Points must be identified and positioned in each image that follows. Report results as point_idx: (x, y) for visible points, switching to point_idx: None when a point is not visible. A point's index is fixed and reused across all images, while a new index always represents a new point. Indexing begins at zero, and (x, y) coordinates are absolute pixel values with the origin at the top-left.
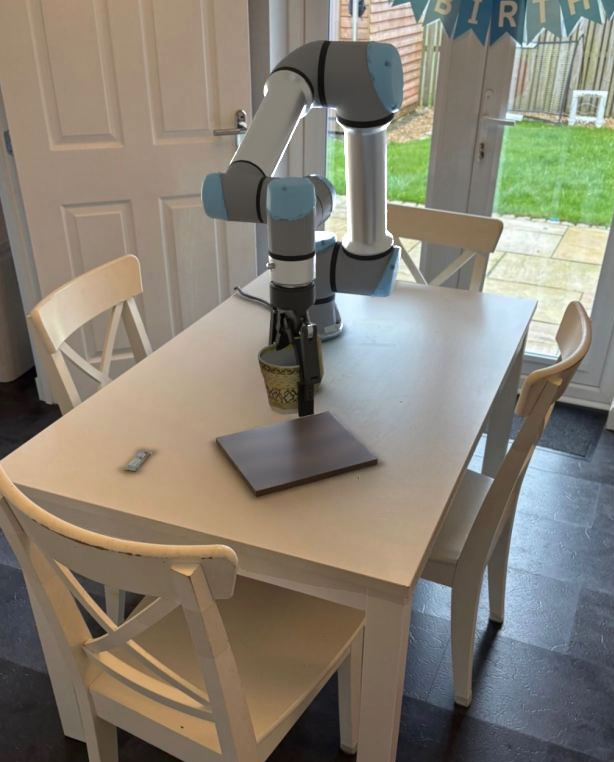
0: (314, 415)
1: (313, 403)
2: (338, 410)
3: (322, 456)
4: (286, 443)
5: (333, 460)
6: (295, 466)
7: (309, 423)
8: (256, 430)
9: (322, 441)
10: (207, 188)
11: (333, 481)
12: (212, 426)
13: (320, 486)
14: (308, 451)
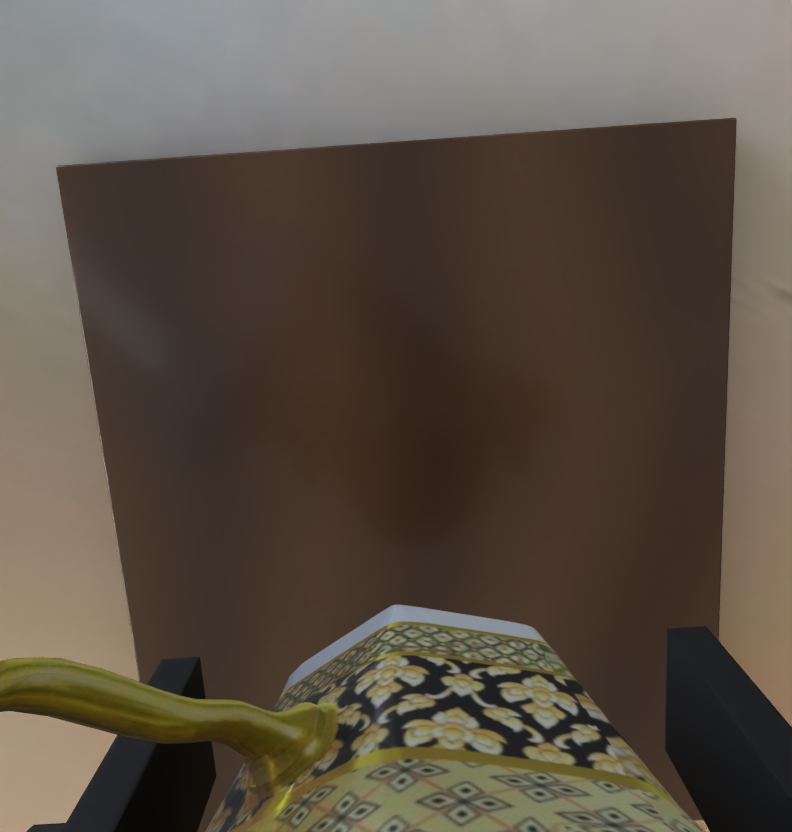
0: (89, 280)
1: (761, 697)
2: (14, 70)
3: (568, 422)
4: (355, 554)
5: (634, 381)
6: (597, 590)
7: (178, 349)
8: (160, 653)
9: (414, 359)
10: None
11: (753, 432)
12: (5, 800)
13: (761, 508)
14: (484, 473)
